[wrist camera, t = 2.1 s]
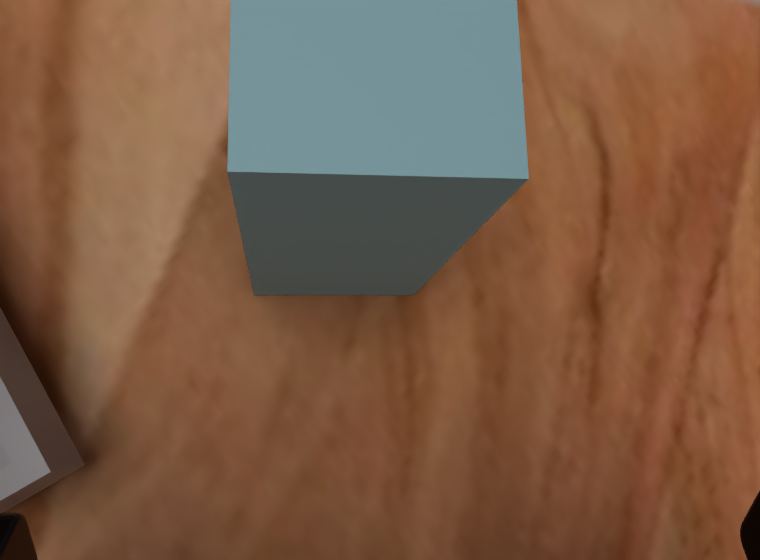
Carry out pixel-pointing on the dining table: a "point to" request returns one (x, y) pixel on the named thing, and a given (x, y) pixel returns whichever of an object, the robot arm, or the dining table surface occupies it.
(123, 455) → the dining table surface
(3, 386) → the grey footed tray
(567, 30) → the dining table surface
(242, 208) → the light blue block
